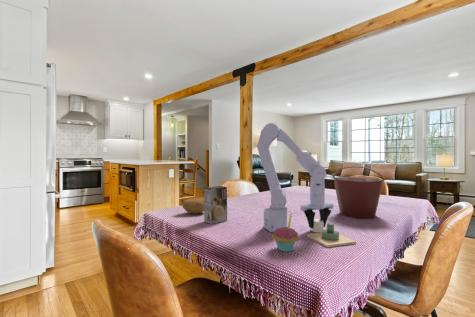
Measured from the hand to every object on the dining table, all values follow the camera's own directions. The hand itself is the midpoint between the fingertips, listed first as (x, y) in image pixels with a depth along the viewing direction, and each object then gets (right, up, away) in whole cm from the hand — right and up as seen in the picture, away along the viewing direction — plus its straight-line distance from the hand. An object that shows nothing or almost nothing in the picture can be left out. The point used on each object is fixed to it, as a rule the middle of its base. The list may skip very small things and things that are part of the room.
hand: (317, 227), depth 102 cm
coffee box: (-43, -1, +14) cm, 45 cm away
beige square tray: (+1, -2, -11) cm, 11 cm away
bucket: (+30, -1, +27) cm, 40 cm away
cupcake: (-17, -2, -20) cm, 26 cm away
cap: (0, -1, 0) cm, 1 cm away
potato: (-55, -1, +29) cm, 62 cm away
